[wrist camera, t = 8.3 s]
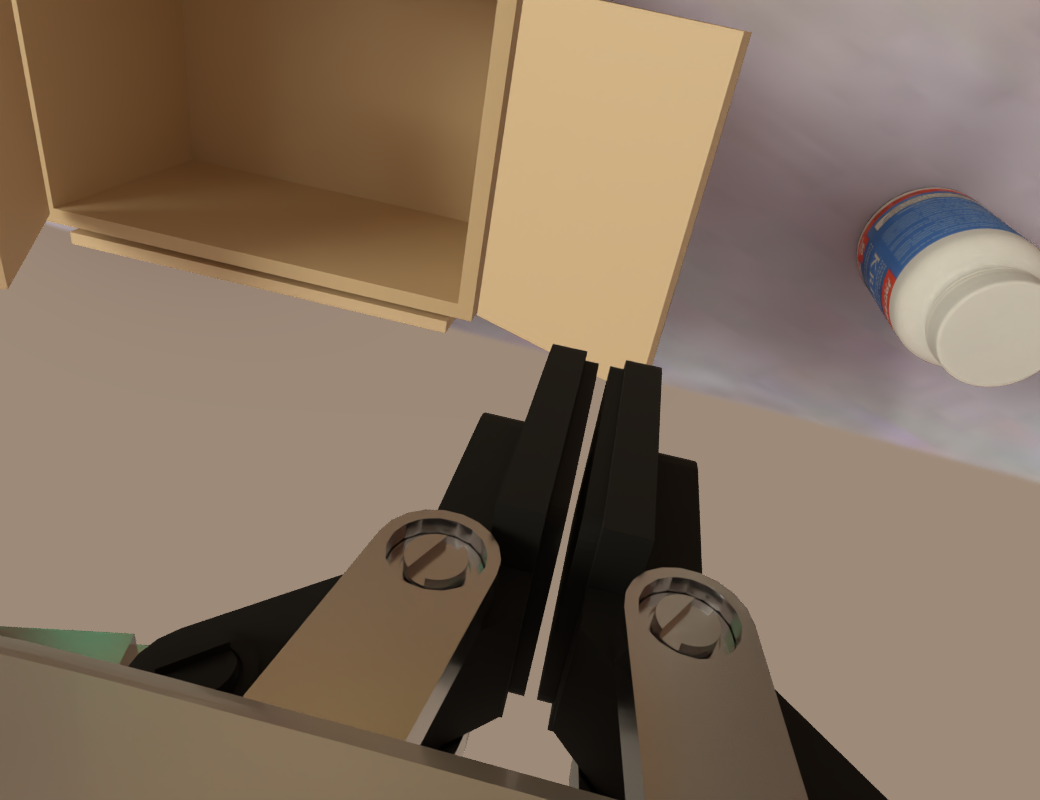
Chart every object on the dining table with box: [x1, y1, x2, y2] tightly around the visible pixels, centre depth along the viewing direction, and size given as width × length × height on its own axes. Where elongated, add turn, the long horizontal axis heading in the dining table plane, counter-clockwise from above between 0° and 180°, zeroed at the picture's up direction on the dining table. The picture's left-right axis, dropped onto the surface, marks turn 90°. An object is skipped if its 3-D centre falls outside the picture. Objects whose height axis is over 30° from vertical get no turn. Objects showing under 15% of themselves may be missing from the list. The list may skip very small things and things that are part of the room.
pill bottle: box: [857, 187, 1040, 387], centre depth 28 cm, size 6×5×10 cm
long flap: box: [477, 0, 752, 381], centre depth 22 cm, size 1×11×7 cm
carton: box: [11, 0, 523, 333], centre depth 29 cm, size 18×14×10 cm
